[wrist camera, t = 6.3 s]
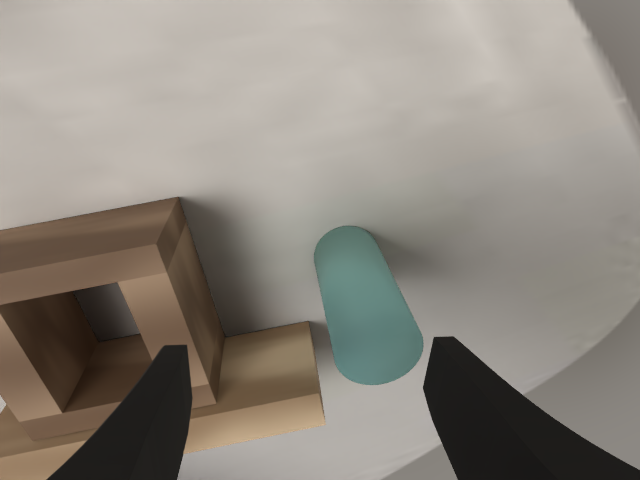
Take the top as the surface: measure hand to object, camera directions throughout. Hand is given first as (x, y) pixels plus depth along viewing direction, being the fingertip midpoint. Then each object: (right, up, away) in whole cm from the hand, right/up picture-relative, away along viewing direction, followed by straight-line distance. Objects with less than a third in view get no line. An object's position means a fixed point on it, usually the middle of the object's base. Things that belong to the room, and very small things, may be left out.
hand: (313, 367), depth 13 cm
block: (-9, +1, +8) cm, 12 cm away
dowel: (+1, +3, +9) cm, 9 cm away
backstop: (-8, -3, +11) cm, 13 cm away
